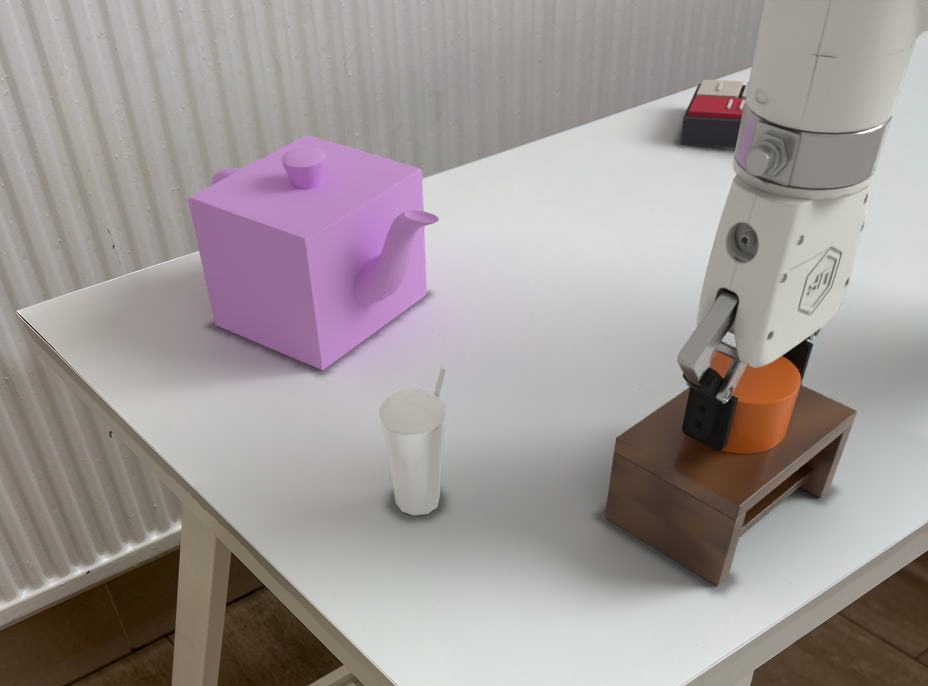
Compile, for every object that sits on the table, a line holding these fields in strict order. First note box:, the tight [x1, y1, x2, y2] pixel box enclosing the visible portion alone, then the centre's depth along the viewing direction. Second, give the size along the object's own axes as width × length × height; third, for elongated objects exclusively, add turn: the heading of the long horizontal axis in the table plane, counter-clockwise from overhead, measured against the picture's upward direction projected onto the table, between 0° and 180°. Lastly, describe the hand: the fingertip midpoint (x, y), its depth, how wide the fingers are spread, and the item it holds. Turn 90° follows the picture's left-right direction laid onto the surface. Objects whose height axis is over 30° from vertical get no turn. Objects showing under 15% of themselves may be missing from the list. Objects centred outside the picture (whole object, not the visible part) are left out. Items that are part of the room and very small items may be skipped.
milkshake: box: [379, 367, 447, 517], centre depth 69 cm, size 4×5×10 cm
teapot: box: [187, 134, 440, 371], centre depth 85 cm, size 15×25×14 cm, turn 54°
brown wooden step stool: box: [604, 384, 858, 587], centre depth 69 cm, size 10×14×7 cm
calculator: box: [680, 79, 749, 149], centre depth 113 cm, size 11×4×15 cm
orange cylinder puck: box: [711, 345, 802, 454], centre depth 65 cm, size 7×7×4 cm
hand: (740, 412), depth 65 cm, fingers open, 7 cm apart
